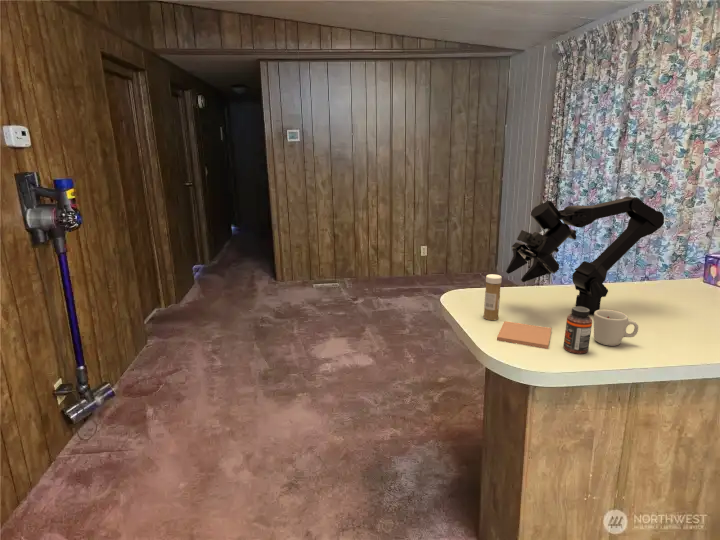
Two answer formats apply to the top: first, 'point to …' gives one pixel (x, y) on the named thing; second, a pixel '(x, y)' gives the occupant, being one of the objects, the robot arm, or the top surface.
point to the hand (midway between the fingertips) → (514, 276)
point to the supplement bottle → (578, 330)
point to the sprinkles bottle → (492, 296)
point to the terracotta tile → (525, 334)
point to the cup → (612, 327)
